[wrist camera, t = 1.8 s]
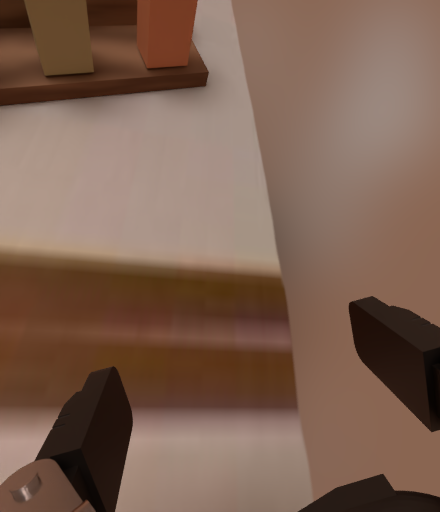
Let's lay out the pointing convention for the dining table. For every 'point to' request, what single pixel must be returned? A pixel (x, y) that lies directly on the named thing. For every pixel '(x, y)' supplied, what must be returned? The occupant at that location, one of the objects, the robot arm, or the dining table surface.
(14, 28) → the console
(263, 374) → the dining table surface
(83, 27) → the khaki rectangular block
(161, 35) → the terracotta key
